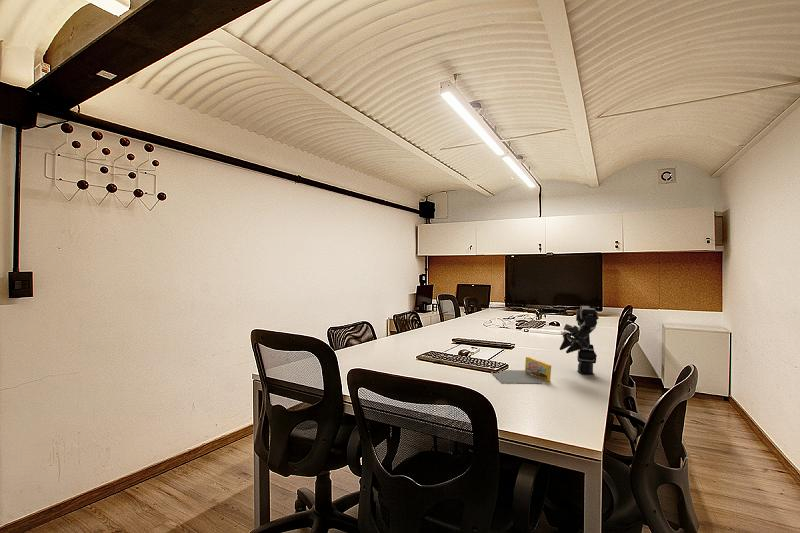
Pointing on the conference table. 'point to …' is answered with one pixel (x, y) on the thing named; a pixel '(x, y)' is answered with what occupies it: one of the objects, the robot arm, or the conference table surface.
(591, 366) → the robot arm
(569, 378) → the conference table surface
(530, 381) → the mat
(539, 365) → the candy box
